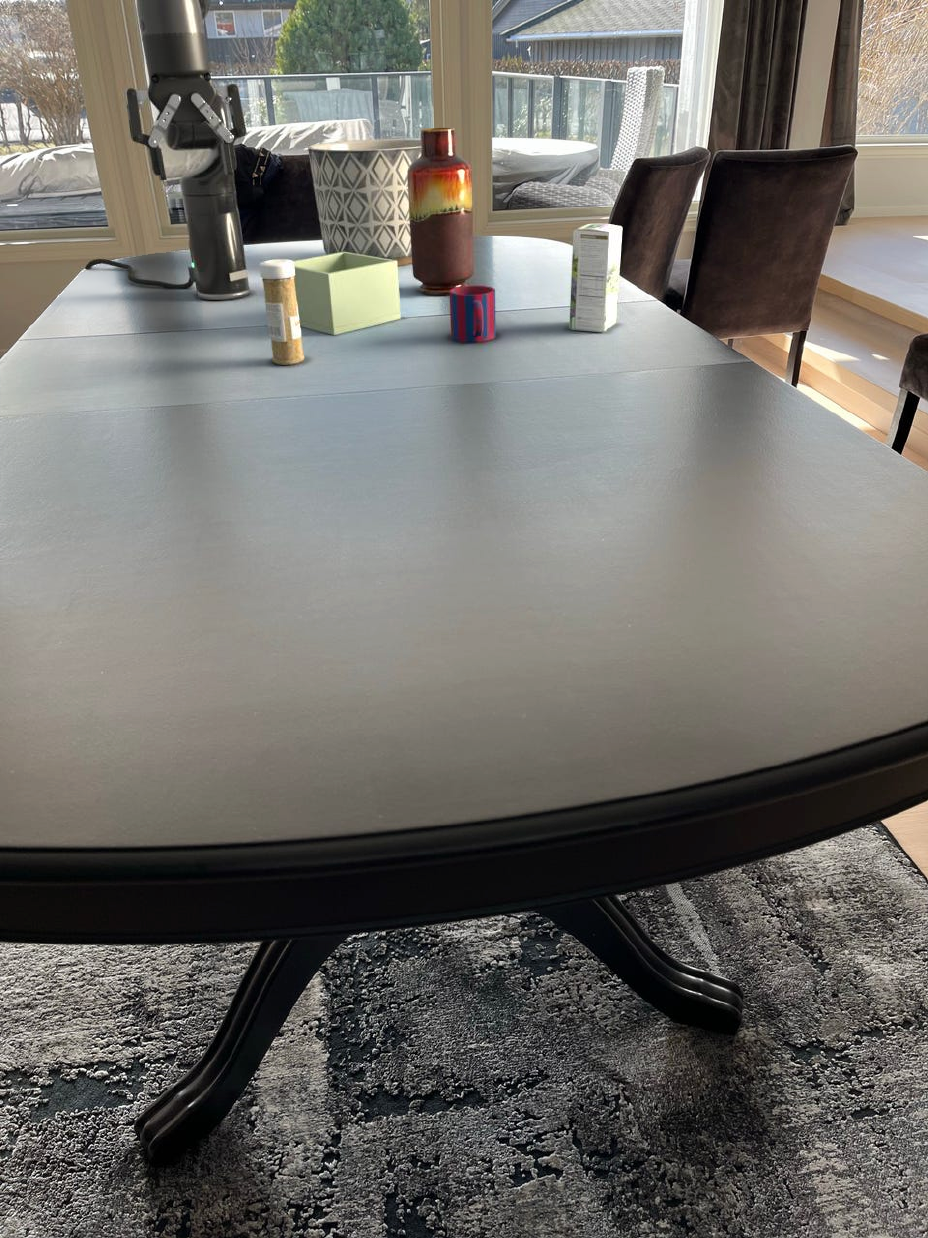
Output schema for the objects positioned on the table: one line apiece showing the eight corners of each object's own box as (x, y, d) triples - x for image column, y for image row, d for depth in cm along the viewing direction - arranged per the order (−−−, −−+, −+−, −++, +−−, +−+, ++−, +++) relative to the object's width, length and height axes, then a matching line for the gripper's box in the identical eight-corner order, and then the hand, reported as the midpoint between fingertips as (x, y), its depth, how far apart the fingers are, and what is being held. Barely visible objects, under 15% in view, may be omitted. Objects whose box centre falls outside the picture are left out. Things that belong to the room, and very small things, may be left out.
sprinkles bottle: (310, 361, 133) (298, 261, 126) (280, 367, 131) (267, 265, 124) (296, 354, 136) (284, 256, 129) (267, 360, 134) (253, 260, 127)
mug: (494, 330, 145) (493, 284, 141) (498, 347, 136) (497, 299, 133) (450, 332, 145) (449, 286, 141) (451, 349, 136) (450, 300, 133)
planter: (391, 245, 214) (384, 137, 203) (469, 258, 197) (466, 141, 186) (295, 262, 199) (282, 146, 188) (370, 278, 182) (361, 152, 171)
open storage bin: (283, 321, 154) (276, 263, 149) (349, 306, 162) (344, 251, 157) (334, 335, 145) (328, 274, 141) (400, 318, 153) (397, 260, 149)
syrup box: (581, 321, 148) (584, 222, 141) (617, 324, 146) (622, 223, 138) (568, 330, 144) (571, 228, 136) (605, 333, 141) (610, 229, 134)
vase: (403, 295, 168) (393, 131, 155) (428, 282, 177) (421, 126, 164) (460, 298, 165) (455, 130, 151) (483, 285, 174) (480, 125, 160)
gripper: (225, 31, 120) (245, 171, 128) (109, 34, 116) (137, 179, 124) (236, 28, 114) (256, 175, 122) (114, 30, 110) (143, 183, 118)
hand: (196, 177), depth 123 cm, fingers open, 8 cm apart
